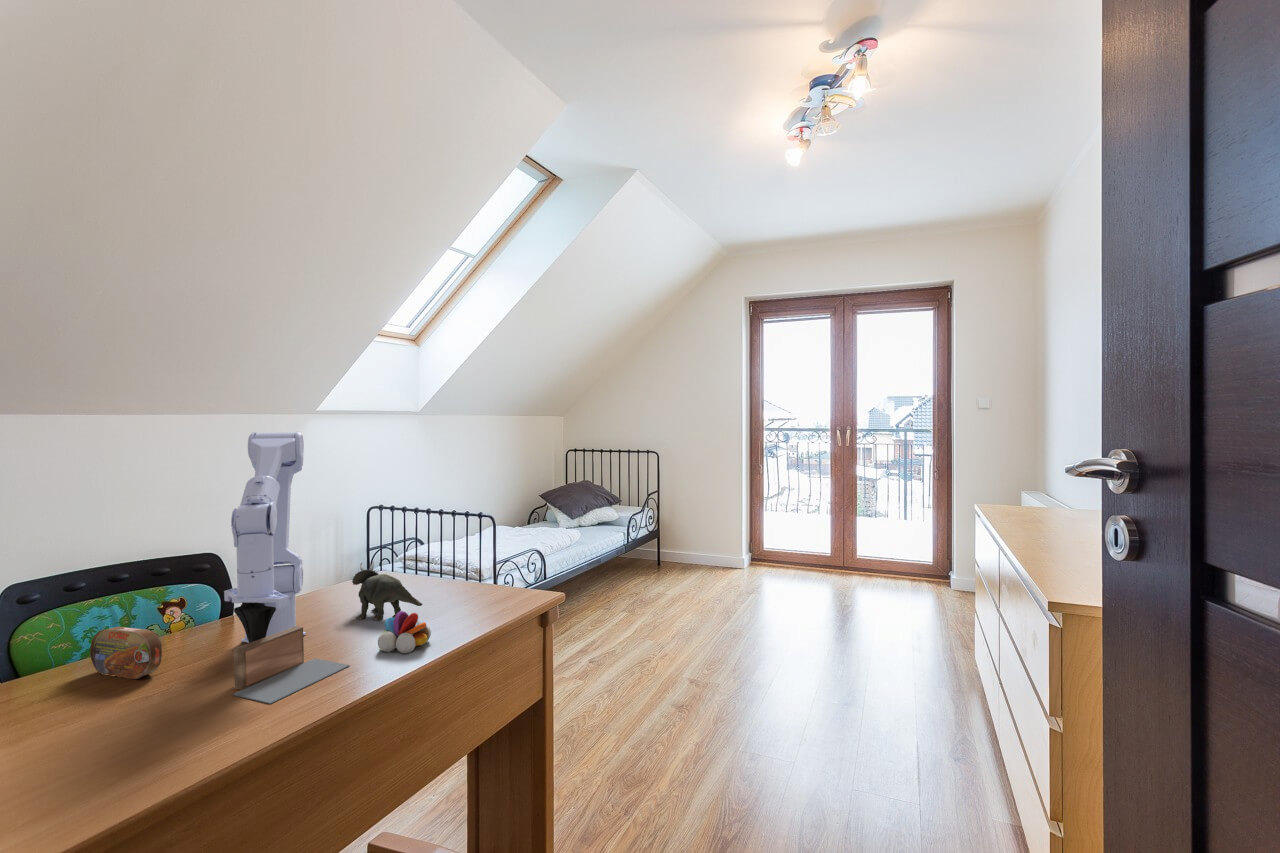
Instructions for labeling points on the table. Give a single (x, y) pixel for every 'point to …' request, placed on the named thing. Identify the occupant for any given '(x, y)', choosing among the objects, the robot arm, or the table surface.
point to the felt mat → (291, 681)
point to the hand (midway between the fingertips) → (257, 642)
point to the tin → (126, 652)
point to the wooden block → (268, 657)
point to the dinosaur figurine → (380, 592)
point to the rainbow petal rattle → (403, 633)
